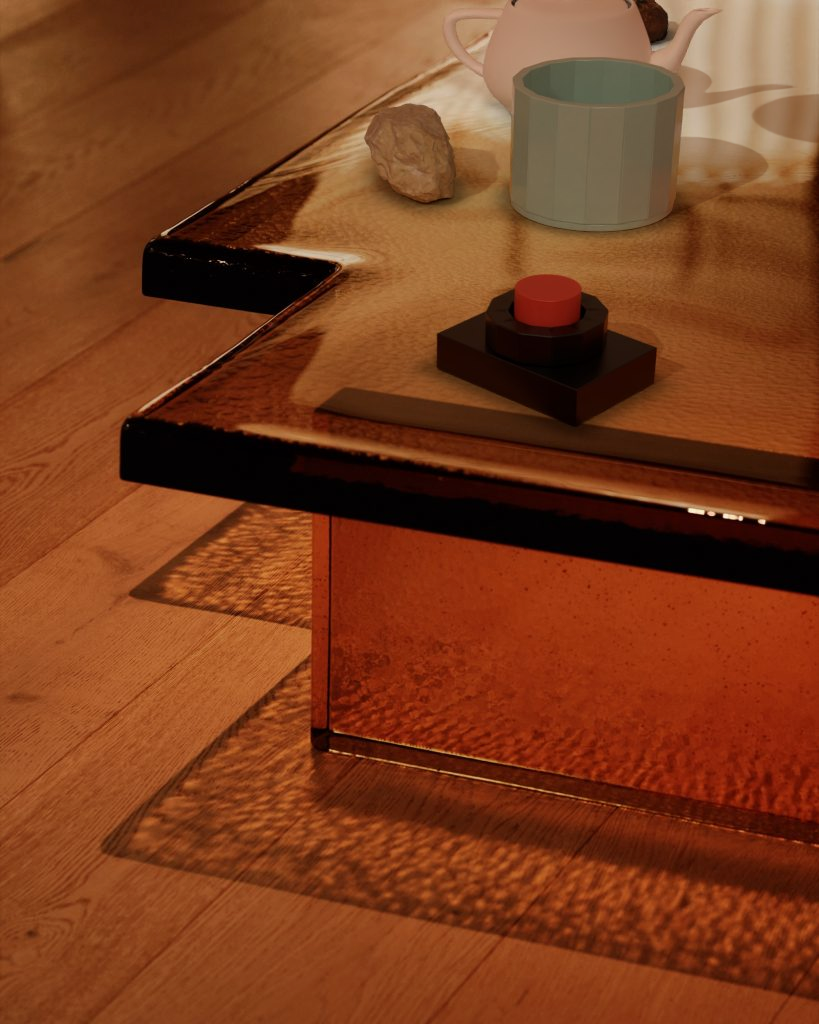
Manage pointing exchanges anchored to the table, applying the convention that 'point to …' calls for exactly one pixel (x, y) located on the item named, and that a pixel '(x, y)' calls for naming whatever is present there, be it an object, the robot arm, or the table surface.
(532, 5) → the teapot
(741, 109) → the table surface
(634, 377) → the button block
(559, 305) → the button
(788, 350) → the table surface
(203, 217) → the table surface
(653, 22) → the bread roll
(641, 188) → the jar
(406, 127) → the stone tool
